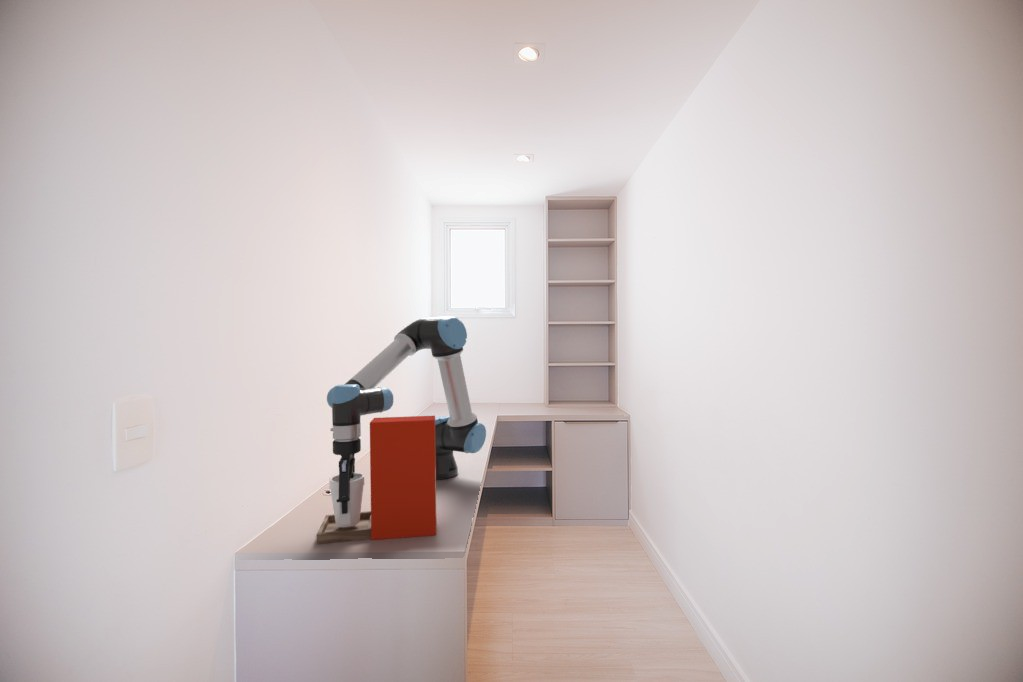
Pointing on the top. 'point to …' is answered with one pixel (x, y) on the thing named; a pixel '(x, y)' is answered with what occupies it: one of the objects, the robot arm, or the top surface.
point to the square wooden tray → (344, 530)
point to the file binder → (403, 477)
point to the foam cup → (355, 498)
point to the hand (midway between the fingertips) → (347, 517)
